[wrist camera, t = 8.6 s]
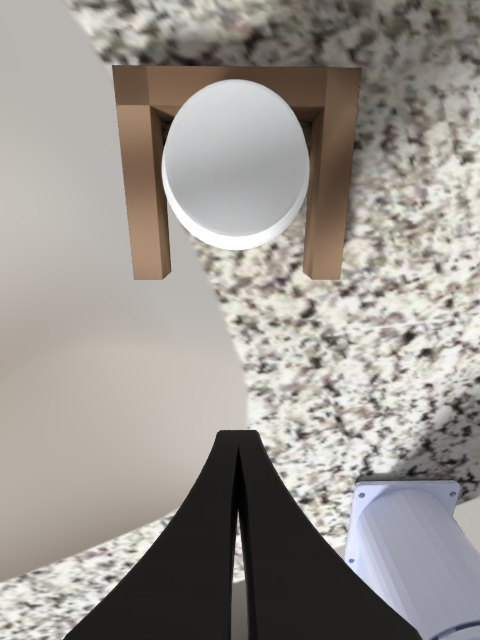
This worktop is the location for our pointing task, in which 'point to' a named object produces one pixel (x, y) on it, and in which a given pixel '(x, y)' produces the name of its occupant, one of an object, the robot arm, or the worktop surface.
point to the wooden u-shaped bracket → (308, 106)
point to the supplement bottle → (235, 165)
